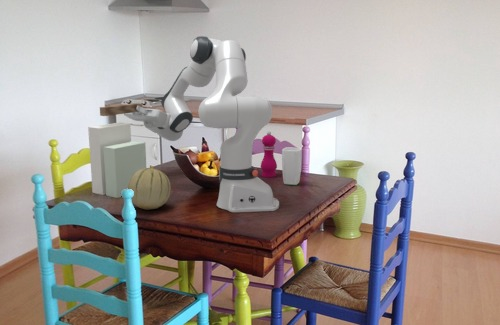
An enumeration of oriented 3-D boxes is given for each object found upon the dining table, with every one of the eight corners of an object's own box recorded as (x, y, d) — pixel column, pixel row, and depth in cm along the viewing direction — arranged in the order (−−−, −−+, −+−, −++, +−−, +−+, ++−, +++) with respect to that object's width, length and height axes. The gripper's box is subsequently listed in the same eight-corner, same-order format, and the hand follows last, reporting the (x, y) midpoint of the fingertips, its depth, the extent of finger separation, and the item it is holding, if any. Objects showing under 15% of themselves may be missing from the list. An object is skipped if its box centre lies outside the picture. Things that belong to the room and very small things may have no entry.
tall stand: (123, 184, 221) (119, 122, 216) (133, 186, 218) (130, 123, 213) (92, 192, 208) (88, 127, 203) (102, 194, 205) (98, 128, 200)
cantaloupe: (128, 216, 179) (126, 172, 176) (129, 204, 193) (127, 163, 190) (172, 213, 182) (171, 170, 179) (170, 201, 196) (168, 161, 193)
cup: (280, 185, 219) (281, 150, 216) (285, 181, 226) (285, 147, 222) (298, 186, 217) (298, 151, 213) (302, 182, 223) (302, 147, 220)
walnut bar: (138, 110, 222) (137, 103, 221) (142, 111, 220) (142, 103, 219) (100, 115, 205) (99, 107, 205) (105, 116, 204) (104, 107, 203)
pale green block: (136, 187, 217) (134, 141, 213) (147, 189, 214) (145, 142, 210) (106, 195, 204) (103, 147, 200) (117, 198, 201) (114, 148, 197)
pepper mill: (275, 174, 239) (276, 130, 235) (277, 177, 232) (278, 132, 228) (259, 174, 239) (259, 130, 235) (261, 178, 232) (261, 132, 228)
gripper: (139, 112, 234) (117, 98, 223) (173, 115, 223) (153, 101, 212) (134, 125, 233) (112, 112, 222) (169, 129, 222) (147, 115, 211)
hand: (132, 106), depth 217 cm, fingers closed on walnut bar, 3 cm apart
